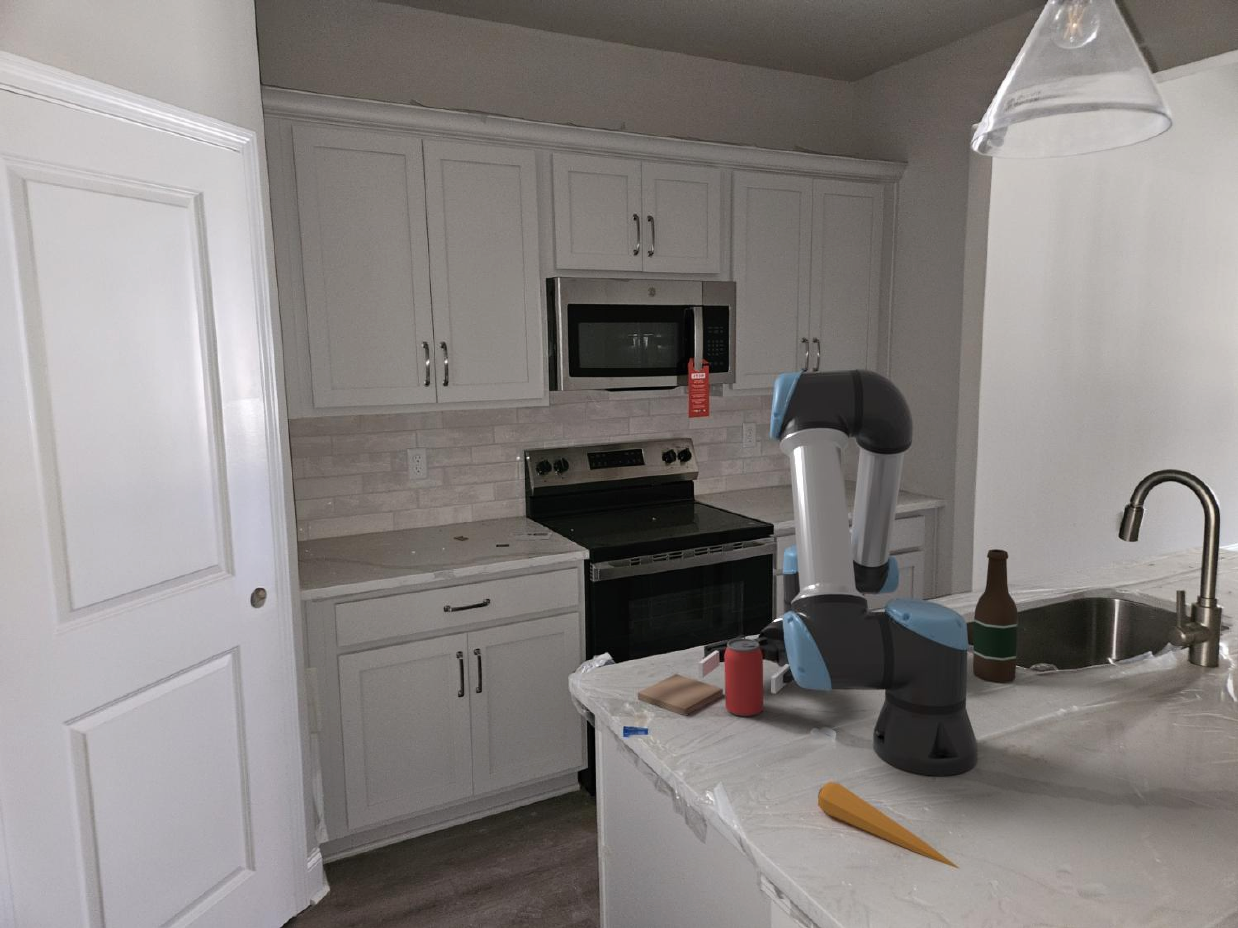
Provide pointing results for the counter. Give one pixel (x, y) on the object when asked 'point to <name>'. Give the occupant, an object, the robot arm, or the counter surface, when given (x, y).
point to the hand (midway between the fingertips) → (735, 677)
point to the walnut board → (680, 694)
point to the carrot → (871, 820)
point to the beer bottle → (995, 625)
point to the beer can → (743, 677)
